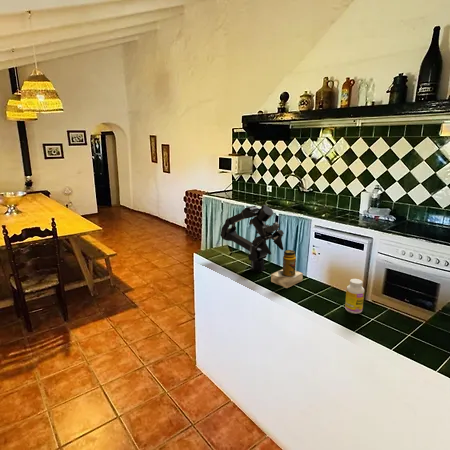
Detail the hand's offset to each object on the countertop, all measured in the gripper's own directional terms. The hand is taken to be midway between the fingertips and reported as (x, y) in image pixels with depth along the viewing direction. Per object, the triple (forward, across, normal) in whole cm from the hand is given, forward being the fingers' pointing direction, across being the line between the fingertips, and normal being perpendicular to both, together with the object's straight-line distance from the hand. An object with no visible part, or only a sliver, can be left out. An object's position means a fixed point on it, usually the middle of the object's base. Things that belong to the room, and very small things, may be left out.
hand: (277, 252), depth 159 cm
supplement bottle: (+40, -2, -20) cm, 45 cm away
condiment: (+12, 0, +2) cm, 12 cm away
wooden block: (+14, 0, +5) cm, 15 cm away
